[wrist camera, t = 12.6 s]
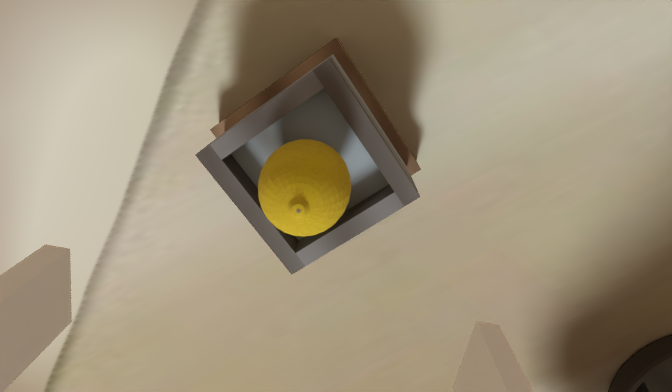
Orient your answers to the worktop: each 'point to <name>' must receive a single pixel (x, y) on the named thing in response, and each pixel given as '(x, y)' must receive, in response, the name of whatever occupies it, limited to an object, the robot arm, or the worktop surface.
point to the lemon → (304, 187)
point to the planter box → (321, 125)
